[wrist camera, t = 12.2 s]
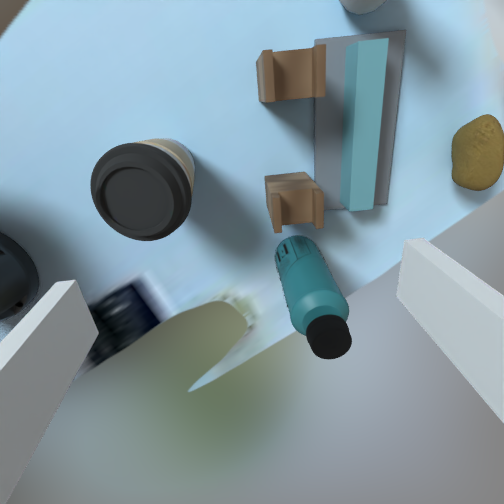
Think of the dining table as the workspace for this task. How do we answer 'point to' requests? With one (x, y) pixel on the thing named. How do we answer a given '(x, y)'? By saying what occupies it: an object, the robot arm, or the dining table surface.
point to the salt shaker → (361, 5)
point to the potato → (478, 153)
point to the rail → (362, 121)
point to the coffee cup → (144, 188)
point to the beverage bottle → (313, 297)
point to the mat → (331, 116)
